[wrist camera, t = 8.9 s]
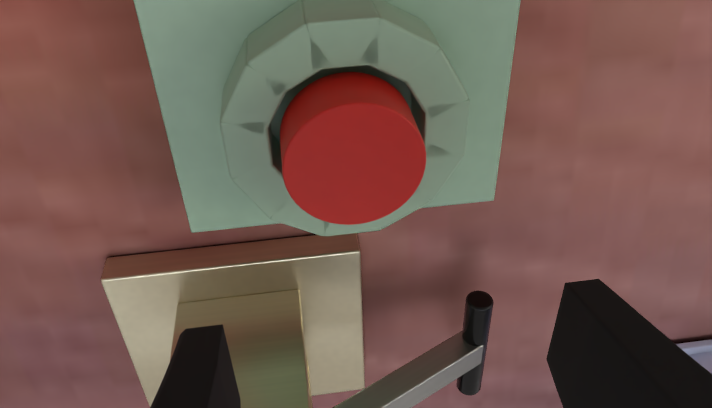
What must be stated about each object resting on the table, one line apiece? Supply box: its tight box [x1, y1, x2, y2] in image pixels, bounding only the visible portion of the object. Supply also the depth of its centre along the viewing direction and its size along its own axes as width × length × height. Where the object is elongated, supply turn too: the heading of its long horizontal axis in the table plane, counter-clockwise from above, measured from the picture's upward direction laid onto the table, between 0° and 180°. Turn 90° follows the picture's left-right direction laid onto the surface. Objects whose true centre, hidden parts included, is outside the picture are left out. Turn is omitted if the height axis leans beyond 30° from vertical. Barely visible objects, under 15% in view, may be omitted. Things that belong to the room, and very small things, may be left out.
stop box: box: [133, 0, 521, 236], centre depth 18 cm, size 10×8×4 cm
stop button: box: [280, 72, 426, 225], centre depth 16 cm, size 4×4×2 cm
